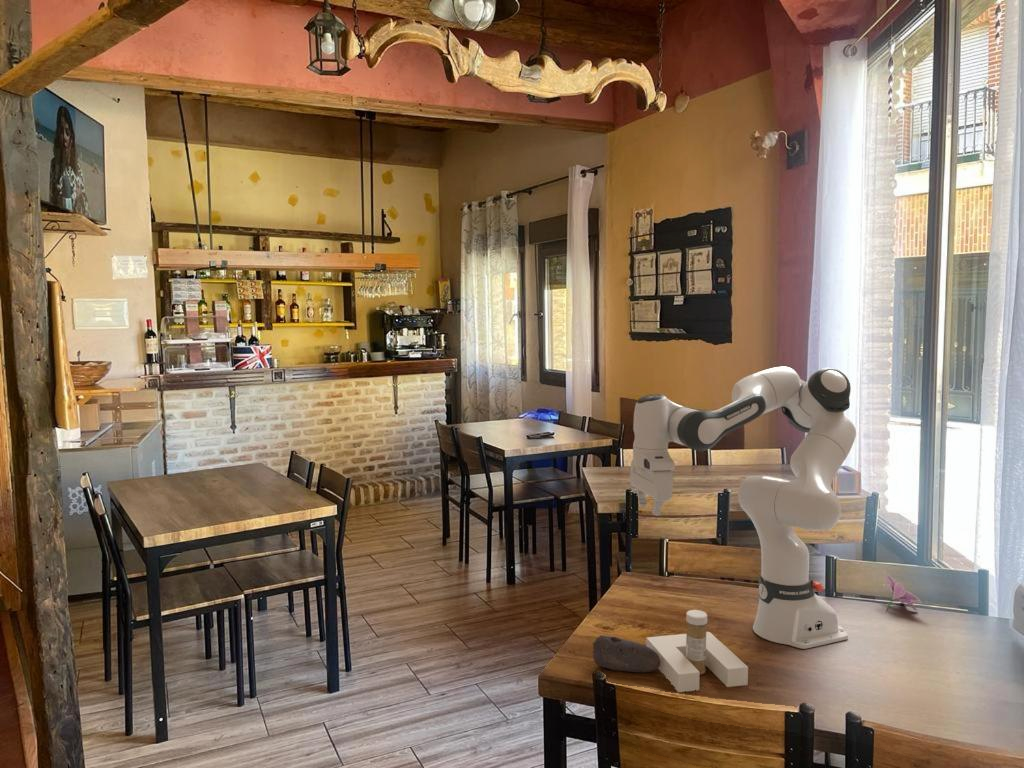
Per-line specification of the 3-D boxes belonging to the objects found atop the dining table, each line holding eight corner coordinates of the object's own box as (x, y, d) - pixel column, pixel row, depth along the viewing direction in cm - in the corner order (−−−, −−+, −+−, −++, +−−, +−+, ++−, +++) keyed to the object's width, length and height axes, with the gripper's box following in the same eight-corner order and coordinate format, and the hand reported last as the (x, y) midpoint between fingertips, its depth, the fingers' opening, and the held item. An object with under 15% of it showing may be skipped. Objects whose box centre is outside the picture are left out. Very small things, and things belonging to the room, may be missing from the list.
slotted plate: (708, 647, 173) (709, 631, 173) (747, 684, 156) (748, 667, 155) (646, 653, 170) (646, 637, 170) (678, 692, 153) (678, 674, 152)
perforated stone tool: (661, 669, 163) (662, 639, 162) (658, 680, 158) (659, 650, 157) (596, 659, 167) (596, 630, 167) (591, 670, 162) (591, 640, 162)
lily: (921, 626, 188) (935, 592, 189) (875, 604, 191) (890, 571, 192) (905, 622, 199) (918, 590, 200) (862, 601, 202) (876, 569, 203)
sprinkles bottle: (691, 664, 165) (692, 607, 164) (709, 670, 162) (711, 612, 161) (681, 671, 162) (682, 613, 160) (699, 678, 159) (701, 619, 157)
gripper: (624, 450, 196) (623, 500, 197) (653, 465, 176) (652, 521, 177) (646, 450, 197) (645, 499, 198) (678, 464, 177) (676, 520, 178)
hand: (649, 510), depth 188 cm, fingers open, 8 cm apart
